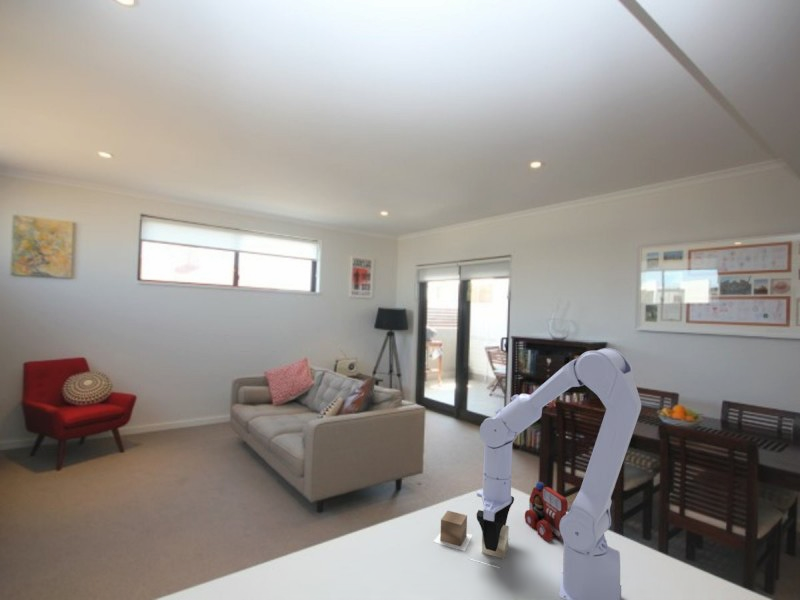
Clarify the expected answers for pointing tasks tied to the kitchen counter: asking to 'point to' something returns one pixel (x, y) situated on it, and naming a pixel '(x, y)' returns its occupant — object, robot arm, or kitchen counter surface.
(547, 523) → the toy fire truck
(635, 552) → the kitchen counter surface
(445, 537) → the walnut block
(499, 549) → the maple block
